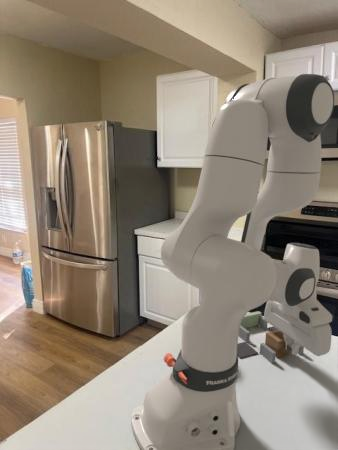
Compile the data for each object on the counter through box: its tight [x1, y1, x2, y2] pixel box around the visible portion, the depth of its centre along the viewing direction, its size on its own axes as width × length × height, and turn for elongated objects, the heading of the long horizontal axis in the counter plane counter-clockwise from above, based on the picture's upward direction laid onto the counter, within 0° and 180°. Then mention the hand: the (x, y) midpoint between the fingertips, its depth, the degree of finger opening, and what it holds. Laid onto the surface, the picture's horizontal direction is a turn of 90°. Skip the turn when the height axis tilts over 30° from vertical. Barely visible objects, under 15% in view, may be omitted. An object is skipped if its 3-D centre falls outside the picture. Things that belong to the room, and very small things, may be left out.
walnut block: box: [264, 330, 292, 359], centre depth 94 cm, size 5×5×5 cm
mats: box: [237, 326, 278, 359], centre depth 100 cm, size 22×10×1 cm, turn 114°
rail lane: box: [238, 310, 305, 364], centre depth 99 cm, size 11×20×4 cm, turn 24°
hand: (291, 351), depth 90 cm, fingers closed
